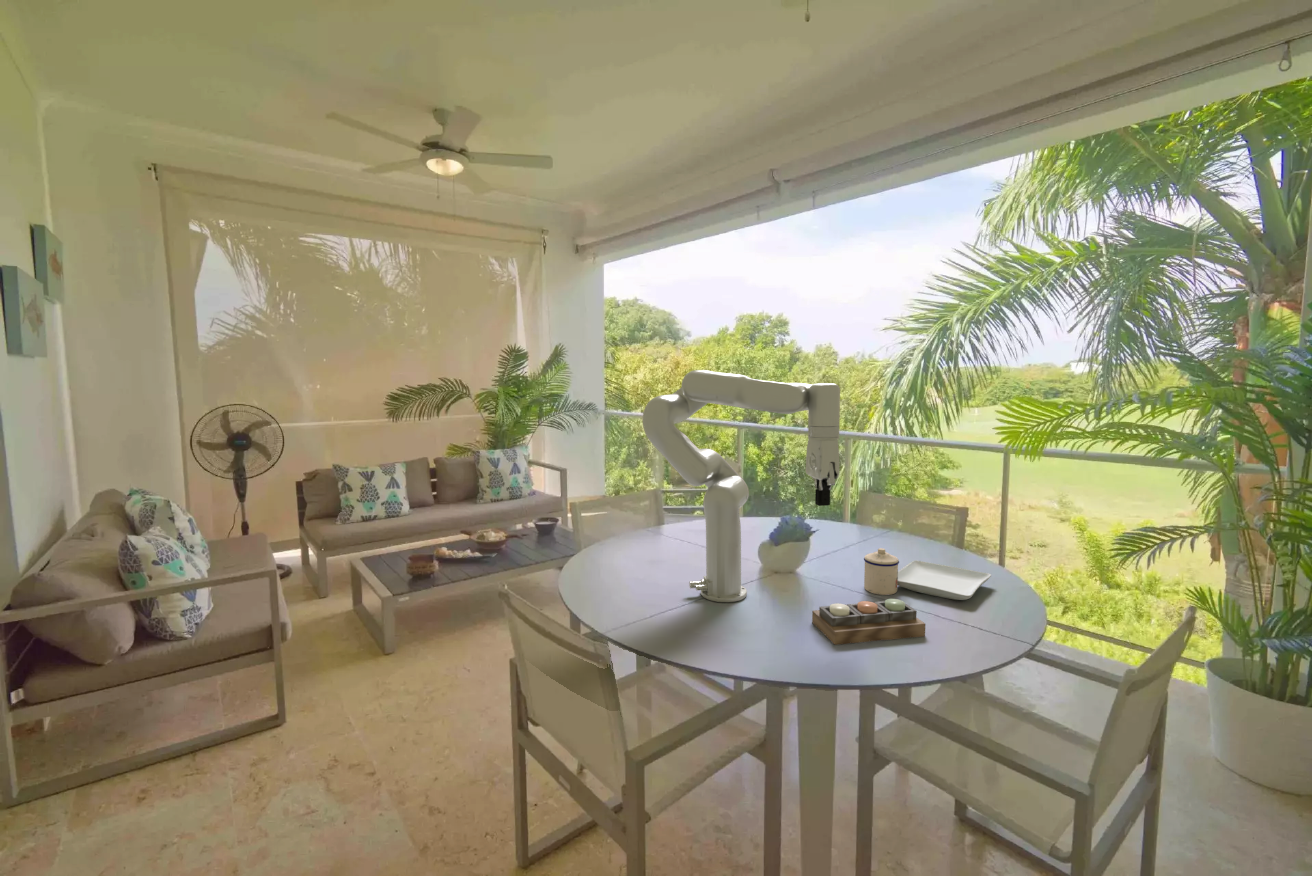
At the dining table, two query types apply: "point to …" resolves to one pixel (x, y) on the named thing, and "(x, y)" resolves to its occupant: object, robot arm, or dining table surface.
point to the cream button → (839, 609)
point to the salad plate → (941, 580)
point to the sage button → (894, 605)
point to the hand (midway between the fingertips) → (822, 504)
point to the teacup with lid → (881, 573)
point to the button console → (868, 624)
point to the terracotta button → (867, 607)
